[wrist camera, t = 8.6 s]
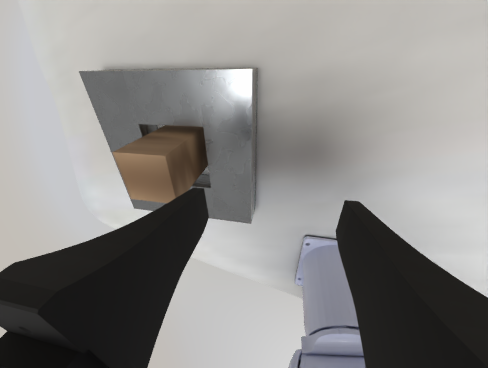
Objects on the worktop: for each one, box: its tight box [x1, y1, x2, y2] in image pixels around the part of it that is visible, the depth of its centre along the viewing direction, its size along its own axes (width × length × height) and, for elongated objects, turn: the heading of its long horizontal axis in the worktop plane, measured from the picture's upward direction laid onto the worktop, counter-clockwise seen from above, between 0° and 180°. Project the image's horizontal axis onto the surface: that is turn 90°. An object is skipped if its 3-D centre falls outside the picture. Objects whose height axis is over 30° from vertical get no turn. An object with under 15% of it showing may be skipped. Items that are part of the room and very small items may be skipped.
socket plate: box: [79, 68, 257, 224], centre depth 19 cm, size 14×14×2 cm
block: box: [112, 125, 208, 203], centre depth 17 cm, size 4×4×7 cm
